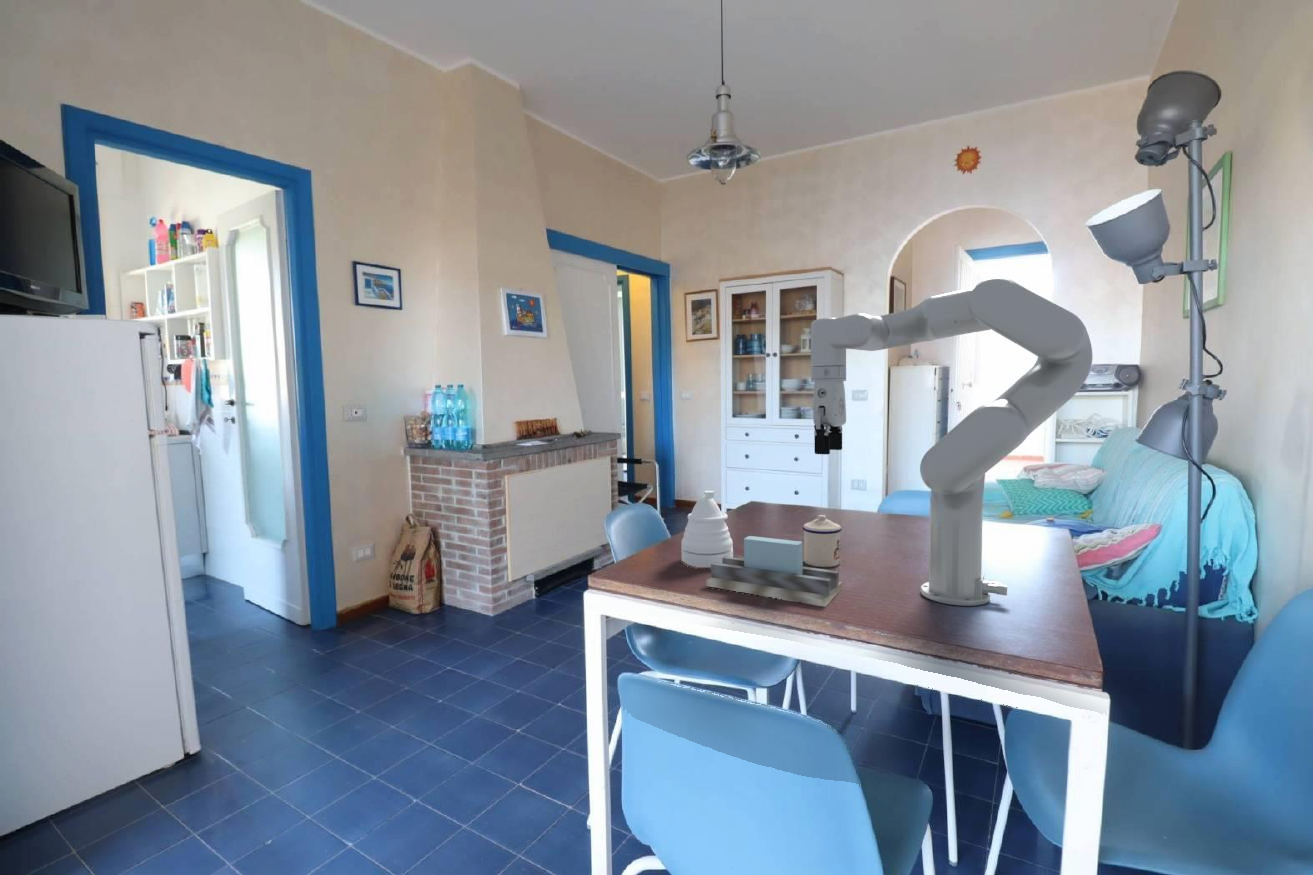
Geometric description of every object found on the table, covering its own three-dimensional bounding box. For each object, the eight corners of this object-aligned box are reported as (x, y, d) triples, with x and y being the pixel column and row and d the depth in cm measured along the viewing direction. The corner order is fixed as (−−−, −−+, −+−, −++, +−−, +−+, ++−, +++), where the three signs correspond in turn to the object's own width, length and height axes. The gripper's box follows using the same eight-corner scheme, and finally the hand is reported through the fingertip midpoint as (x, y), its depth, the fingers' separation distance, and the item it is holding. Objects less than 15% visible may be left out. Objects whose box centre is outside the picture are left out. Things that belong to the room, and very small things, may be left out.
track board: (841, 589, 131) (841, 568, 130) (825, 606, 121) (825, 584, 120) (729, 572, 144) (729, 553, 144) (706, 587, 134) (706, 566, 134)
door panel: (802, 583, 130) (802, 541, 130) (797, 587, 128) (797, 544, 127) (750, 575, 137) (749, 535, 136) (744, 579, 134) (743, 538, 133)
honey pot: (742, 564, 151) (741, 491, 149) (694, 571, 146) (693, 496, 144) (718, 552, 163) (717, 484, 161) (673, 558, 158) (671, 488, 156)
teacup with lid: (843, 568, 145) (843, 519, 144) (803, 567, 147) (803, 519, 146) (839, 554, 157) (838, 509, 156) (802, 553, 159) (802, 509, 158)
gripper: (834, 374, 127) (834, 456, 129) (855, 374, 142) (855, 448, 143) (799, 375, 131) (799, 455, 133) (823, 375, 146) (823, 447, 147)
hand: (828, 451), depth 138 cm, fingers open, 9 cm apart
